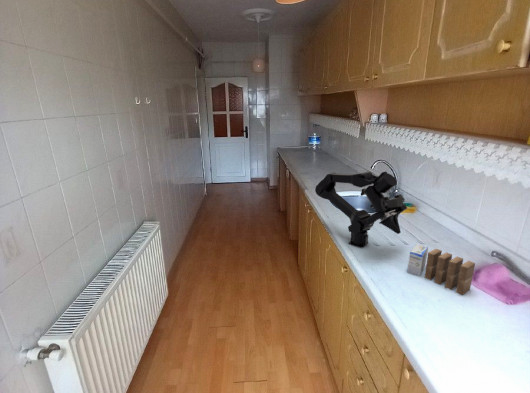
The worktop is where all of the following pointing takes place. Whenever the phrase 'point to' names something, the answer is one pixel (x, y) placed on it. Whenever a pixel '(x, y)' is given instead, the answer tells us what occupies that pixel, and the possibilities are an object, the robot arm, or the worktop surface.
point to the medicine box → (417, 259)
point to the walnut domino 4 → (465, 277)
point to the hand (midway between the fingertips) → (399, 233)
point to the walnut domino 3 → (453, 272)
